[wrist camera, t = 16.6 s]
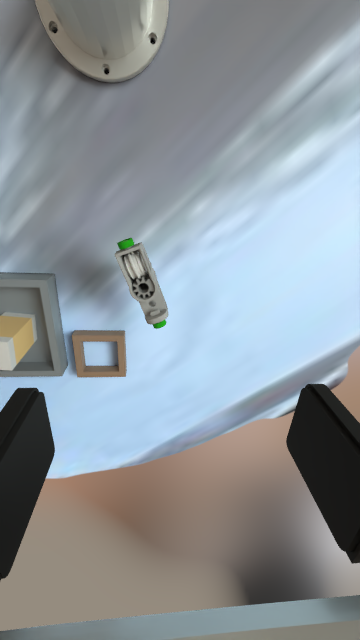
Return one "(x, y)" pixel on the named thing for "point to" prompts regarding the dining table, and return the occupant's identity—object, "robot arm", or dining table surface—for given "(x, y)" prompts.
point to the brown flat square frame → (99, 370)
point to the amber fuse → (15, 338)
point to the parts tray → (42, 301)
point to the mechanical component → (142, 281)
